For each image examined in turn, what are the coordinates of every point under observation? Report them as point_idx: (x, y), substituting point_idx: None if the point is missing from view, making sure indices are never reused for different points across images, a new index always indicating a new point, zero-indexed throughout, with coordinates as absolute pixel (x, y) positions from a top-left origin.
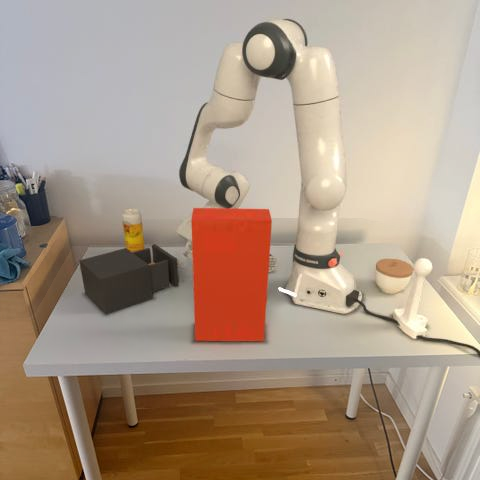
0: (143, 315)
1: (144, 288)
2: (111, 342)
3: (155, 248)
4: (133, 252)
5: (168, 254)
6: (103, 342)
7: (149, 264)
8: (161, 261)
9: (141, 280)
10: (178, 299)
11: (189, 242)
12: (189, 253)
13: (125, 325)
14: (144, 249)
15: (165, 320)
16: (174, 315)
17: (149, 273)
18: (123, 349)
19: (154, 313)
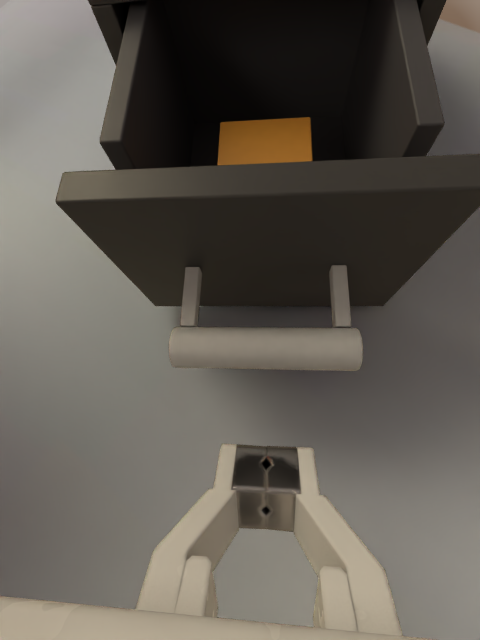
0: (97, 123)
1: None
2: (56, 26)
3: (398, 164)
4: (408, 11)
5: (178, 182)
6: (71, 14)
7: (297, 156)
8: (124, 102)
9: None
10: (87, 262)
11: (348, 611)
12: (223, 474)
13: (93, 69)
14: (423, 83)
15: (18, 162)
16: (16, 196)
17: (111, 51)
18: (9, 37)
19: (79, 152)
